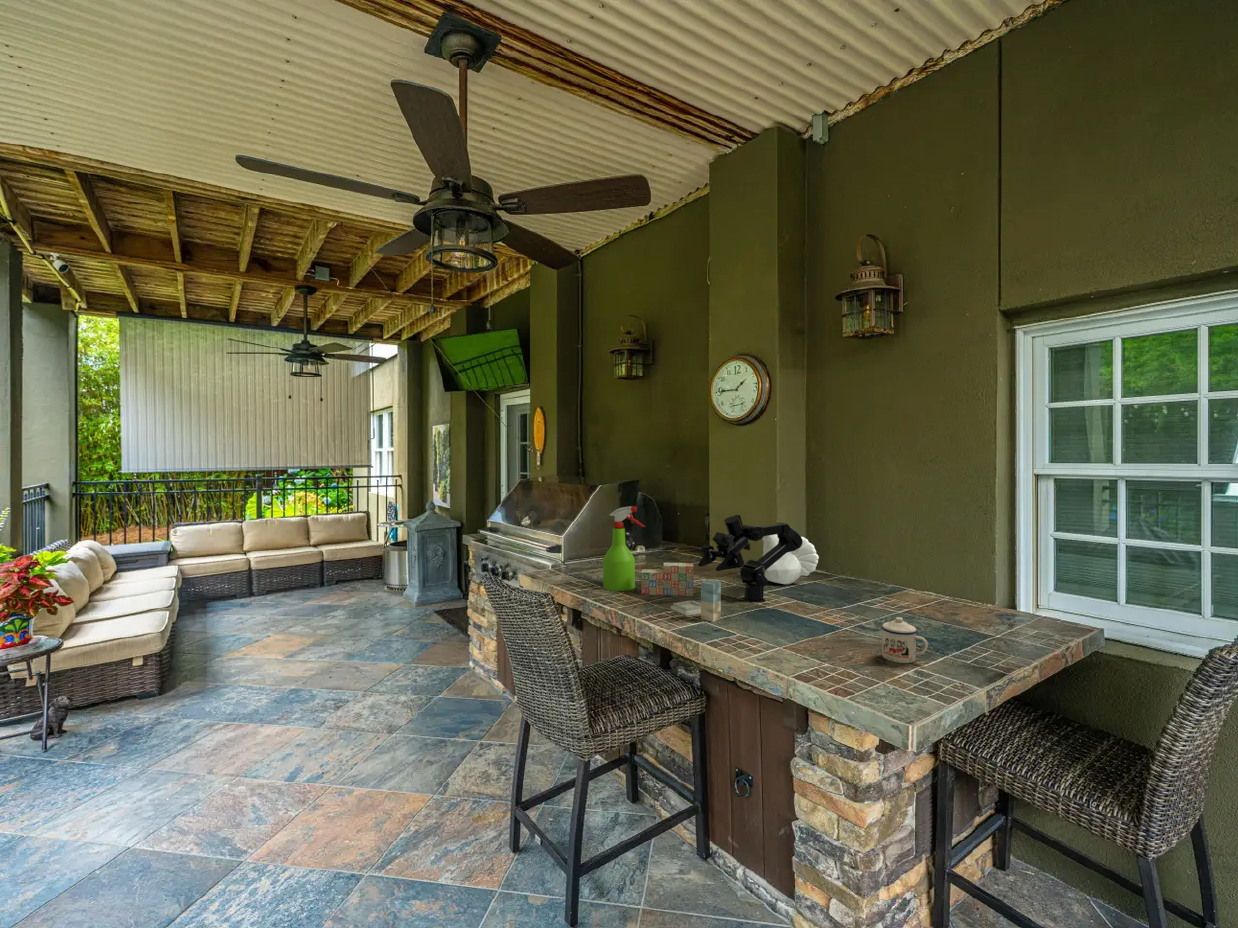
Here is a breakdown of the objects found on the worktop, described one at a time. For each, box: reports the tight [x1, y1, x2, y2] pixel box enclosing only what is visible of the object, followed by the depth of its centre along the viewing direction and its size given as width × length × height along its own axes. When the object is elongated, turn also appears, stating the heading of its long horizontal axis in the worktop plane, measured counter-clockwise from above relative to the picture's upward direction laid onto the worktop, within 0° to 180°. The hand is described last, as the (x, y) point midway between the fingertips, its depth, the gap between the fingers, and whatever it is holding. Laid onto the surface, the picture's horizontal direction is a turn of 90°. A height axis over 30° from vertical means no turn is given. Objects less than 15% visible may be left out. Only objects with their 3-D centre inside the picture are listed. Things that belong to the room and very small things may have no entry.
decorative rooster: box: [761, 534, 820, 585], centre depth 263 cm, size 25×16×25 cm, turn 44°
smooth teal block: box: [700, 579, 722, 623], centre depth 211 cm, size 5×5×13 cm
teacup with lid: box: [881, 616, 929, 664], centre depth 171 cm, size 12×9×12 cm
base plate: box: [670, 599, 701, 616], centre depth 222 cm, size 10×10×2 cm
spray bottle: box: [602, 505, 646, 592], centre depth 257 cm, size 14×18×35 cm
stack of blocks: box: [640, 562, 695, 597], centre depth 247 cm, size 21×6×12 cm, turn 85°
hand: (707, 567), depth 222 cm, fingers open, 9 cm apart
